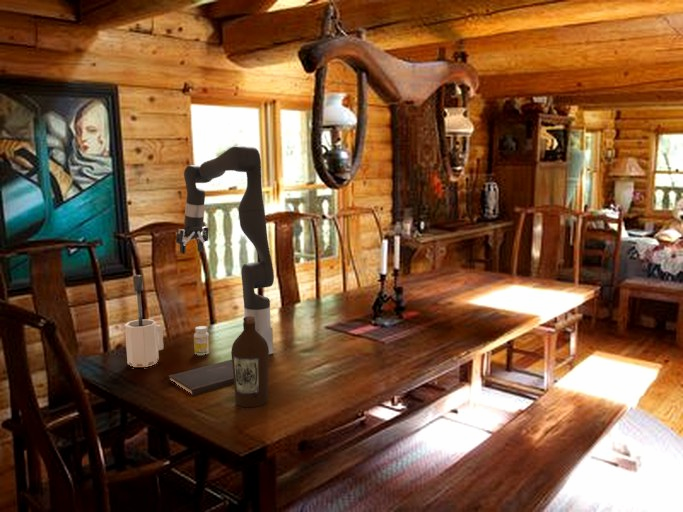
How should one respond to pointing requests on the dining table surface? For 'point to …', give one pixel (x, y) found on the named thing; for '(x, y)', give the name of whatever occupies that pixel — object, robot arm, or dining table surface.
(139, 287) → the plunger
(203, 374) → the hardcover book
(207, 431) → the dining table surface
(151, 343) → the octagonal white mug
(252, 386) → the olive oil
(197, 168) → the robot arm
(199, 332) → the supplement bottle
